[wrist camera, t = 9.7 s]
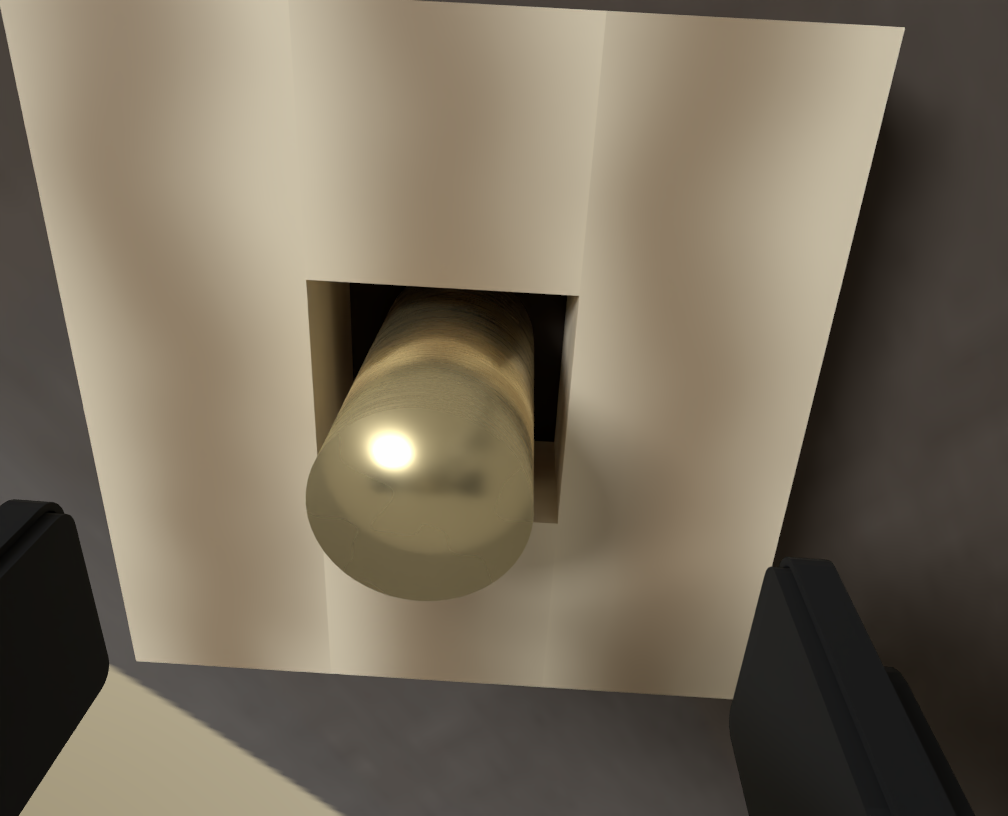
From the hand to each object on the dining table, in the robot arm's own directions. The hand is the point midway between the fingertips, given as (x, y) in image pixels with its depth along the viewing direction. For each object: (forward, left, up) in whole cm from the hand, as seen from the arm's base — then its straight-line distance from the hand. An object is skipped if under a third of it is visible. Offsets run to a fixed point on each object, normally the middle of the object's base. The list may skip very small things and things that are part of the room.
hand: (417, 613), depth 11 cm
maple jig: (0, 0, -11) cm, 11 cm away
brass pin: (0, 0, -11) cm, 11 cm away
